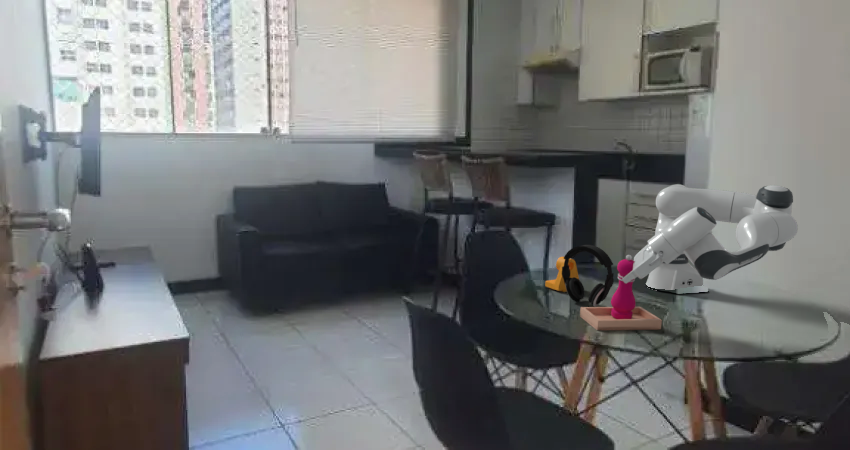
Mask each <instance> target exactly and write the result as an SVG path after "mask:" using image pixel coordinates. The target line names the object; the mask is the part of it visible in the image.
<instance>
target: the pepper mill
mask: <svg viewBox="0 0 850 450" xmlns="http://www.w3.org/2000/svg"><path fill="white" fill-rule="evenodd" d="M633 263H634V259H633V256H632V255H631V254H627V255H626V256H625V259H624V258H623V259H621V260H620V261H618V263H617V267H616V270H617V271H618V273H617V279H618V287H617V289H616V290H615V292H614V293H613V295H612V297H611V298H610V299H611V300H610V305H611V307H613V308H612V310H611V315H612V316H613V317H614V318H616V319H631V318H632V314H633V312H632V310H633V309H634V308H635V307H636V298H635V294H634V292H633V284H634V282H635V281H636V278H635V279H633V280H631V281H629V282H628V283H624V282H623V280H622V278H623V277H624V276H626V275H627V274H629V273H630V272H631V271H632V270H633Z"/></svg>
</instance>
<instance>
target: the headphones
mask: <svg viewBox="0 0 850 450" xmlns="http://www.w3.org/2000/svg"><path fill="white" fill-rule="evenodd" d="M582 252H585V253H589V254H591V255H593V256H594V257H595V258H596V259H597V261H598V263H600V264H601V266H603V267H604V268H606V271H607V274H606V279H605V281H604V283H602V282H600V283H597V284H596V285H595V286H594V287H593V288H592V290H591V291H590V293H589V295H588V299H587V300H588V302H589V303H590V305H591V307H598V306H599V305H600V304H601V303H602V302H603V301H605V300H606V299H607V296H608V294H609V292H610V290H611V289H612V287H613V285H614V281H615V280H614V272H613V271H612V266H614V263H613V261H612V259H611V258H610V256H609V254H608V253H607V252H606V251H604V250H603V249H601V248H600V247H599V246H596V245H594V244H593V245H592V244H583V245H577V246H574V247H573V248H570V249H569V250H568V251H567V252H566V253H565V254H564V256H563V257H564V259H565V262H564V266H563V267H562V277H563V279H564V283H565V286H566V290H567V291H566V292H567V295H568V296H569V299H571V300H573V302H575V303H578V302H580V301H581V300H583V299H584V297H585V293H586V292H585V291H586V290H585V286H584V285H583V283H582V281H581V280H580V278H579V279H577V278H575V277H573V278H570V269H569V265H568V262H569V259H573V258H575V257H576V256H579V254H581V253H582Z"/></svg>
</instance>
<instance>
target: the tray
mask: <svg viewBox="0 0 850 450" xmlns="http://www.w3.org/2000/svg"><path fill="white" fill-rule="evenodd" d="M612 308H613V307H612V306H595V307H593V306H589V307H588V306H581V307H580V310H579V317H580V318H581V319H583V320H584V321H585V322H586V323H587V324H588V325H590V326H592V328H593V329H595V330H596V331H649V330H650V331H651V330H653V331H656V330H657V331H658V330H662V322H663V320H662V319H661V318H659V317H658V316H656V315H655V314H654V313H652V312H650V311H649V310H646V309H645V308H644V307H642V306H635V308H634V309H633V310H632V312H633V314H632V318H631V319H616V318H614V317H613V316H612V315H611V310H612Z"/></svg>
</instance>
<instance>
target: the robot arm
mask: <svg viewBox="0 0 850 450" xmlns="http://www.w3.org/2000/svg"><path fill="white" fill-rule="evenodd" d="M793 195H794V194H793V192H792V191H791V190H790V188H787V187H785V186H782V185H777V184H770V185H766V186H765V185H764V186H762V187H760V188H759V190H758V191H757V194H756V195H755V194H752V193H748V192H740V191H734V190H724V189H723V190H722V189H713V188H694V187H687V186H685V185H683V184H680V183H677V184H671V185H669V186H668V187H667V186H666V187H665V188H662V189H661V190H660V191H659V192H658V193H657V195H656V197H655V207H656V209H657V211H658V217H657V219H658V220H657V223H656V227H655V232H654V235H653V236H652V237H651V238H649V239H648V240H647V241H646V242H647V244H646V245H645V246H644V247H642V248H641V250H640V251H639V252H637V253H636V254H635V255H634V257H633V261H634V263H633V270H632V271H631V272H630V273H629V274H627V275H626V276H624V277H623V278H622V280H623V282H624V283H628V282H629V281H631V280H633V279H635V280H636V278H638V279H639V280H643V279H644V278H646V277H647V276H648V277H647V280H646V283H645V284H646V285H647V286H648V287H651V288H655V289H665V290H675V289H680V288H687V287H694V286H702V285H703V286H704V279H706V280H712V281H713V280H715V281H716V280H719V279H722V278H723V277H725V276H727V275H729V274H730V273H732V272H734V271H736V270H738V269H741V268H744V267H746V266H748V265H750V264H752V263H755V262H756V261H759V260H761V259H762V258H763V257H765V255H766V254H767V253H768V252H776V251H780V250H781V249H783V248H784V247H785V246H786V244H787V242H789V241H791V240H793V239H794V238H795V237H796V235H797V233H798V229H799V228H798V227H799V226H798V223H797V220H796V219H795V218H794V217H793V215H792V209H793V203H794V196H793ZM717 222H724V223H731V224H737V225H736V228H735V240H736V244H737V245H738V246H739V249H738V250H735V251H732V252H731V251H730V250H728V249H727V248H725V247H724V246H723V245H722V243H721V242H720V241H719V240H718V239H717V238H716V237H715V236H714V234H713V231H712V230H714V228H715V227H716V226H717ZM689 261H690V262H691V263H690V262H689ZM648 287H647V288H648Z"/></svg>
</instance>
